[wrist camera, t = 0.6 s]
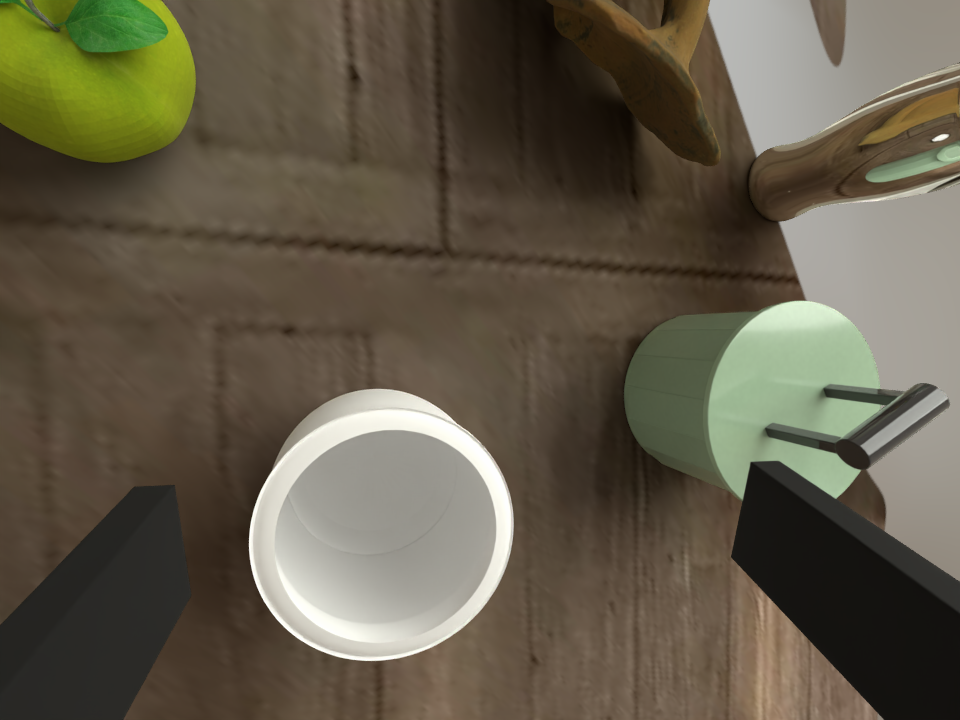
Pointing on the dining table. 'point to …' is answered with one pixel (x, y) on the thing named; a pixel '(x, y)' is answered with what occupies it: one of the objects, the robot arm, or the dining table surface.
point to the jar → (380, 527)
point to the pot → (677, 389)
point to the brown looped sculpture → (648, 67)
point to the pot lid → (805, 399)
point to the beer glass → (868, 152)
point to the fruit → (94, 76)
